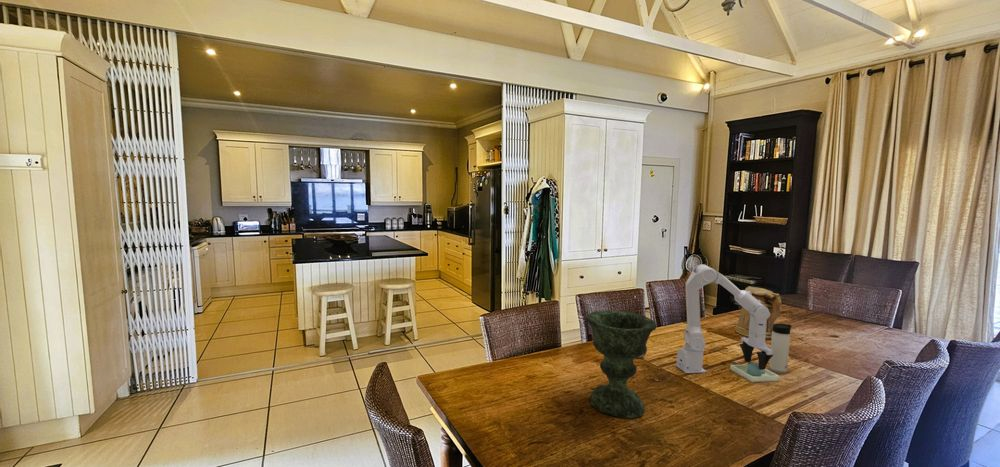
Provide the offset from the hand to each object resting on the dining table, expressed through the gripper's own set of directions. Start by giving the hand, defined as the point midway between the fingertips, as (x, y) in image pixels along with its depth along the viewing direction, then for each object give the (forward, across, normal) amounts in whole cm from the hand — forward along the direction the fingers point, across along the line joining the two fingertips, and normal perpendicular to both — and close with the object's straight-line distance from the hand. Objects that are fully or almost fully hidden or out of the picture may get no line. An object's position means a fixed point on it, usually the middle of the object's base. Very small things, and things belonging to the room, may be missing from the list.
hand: (754, 365), depth 165 cm
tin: (+5, +23, +43) cm, 49 cm away
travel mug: (+4, +3, -14) cm, 15 cm away
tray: (+4, 0, 0) cm, 4 cm away
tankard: (+4, +45, -41) cm, 61 cm away
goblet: (+5, -17, +67) cm, 69 cm away
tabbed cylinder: (+4, 0, 0) cm, 4 cm away
